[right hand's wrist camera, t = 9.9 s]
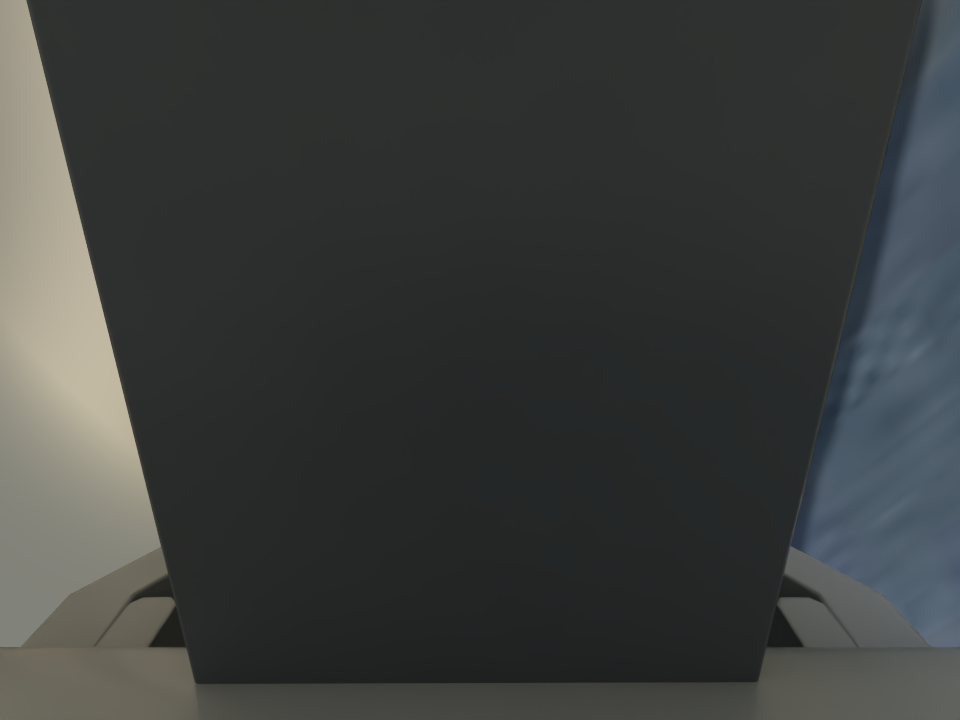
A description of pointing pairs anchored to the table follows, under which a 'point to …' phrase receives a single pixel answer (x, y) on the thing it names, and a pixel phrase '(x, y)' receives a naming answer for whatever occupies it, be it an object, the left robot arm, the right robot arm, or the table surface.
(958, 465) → the table surface
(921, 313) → the table surface
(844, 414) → the table surface
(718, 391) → the bar
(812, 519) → the table surface
